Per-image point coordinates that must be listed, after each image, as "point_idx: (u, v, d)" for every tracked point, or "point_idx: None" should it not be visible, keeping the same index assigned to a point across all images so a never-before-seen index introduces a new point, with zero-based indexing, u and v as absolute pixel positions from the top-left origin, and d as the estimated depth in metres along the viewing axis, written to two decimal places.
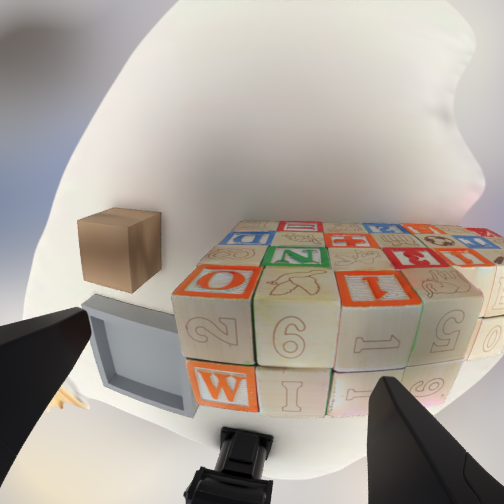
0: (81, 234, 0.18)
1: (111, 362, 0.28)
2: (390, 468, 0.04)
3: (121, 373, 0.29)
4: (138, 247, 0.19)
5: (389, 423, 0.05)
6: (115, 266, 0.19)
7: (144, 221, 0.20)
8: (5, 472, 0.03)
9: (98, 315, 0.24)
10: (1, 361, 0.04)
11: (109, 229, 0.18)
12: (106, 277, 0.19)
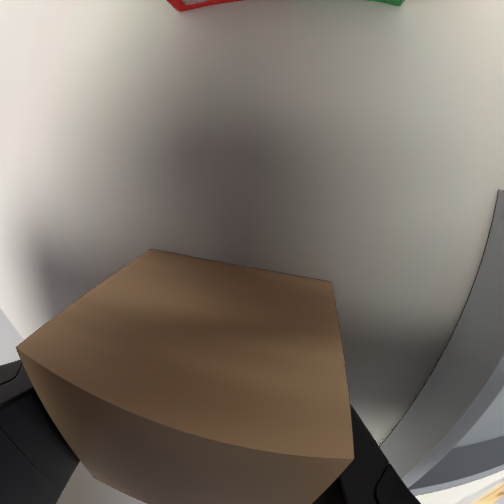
0: (123, 490, 0.04)
1: None
2: None
3: None
4: (144, 340, 0.04)
5: None
6: (193, 474, 0.03)
7: (97, 290, 0.05)
8: None
9: (413, 478, 0.06)
10: None
11: (58, 418, 0.03)
12: None
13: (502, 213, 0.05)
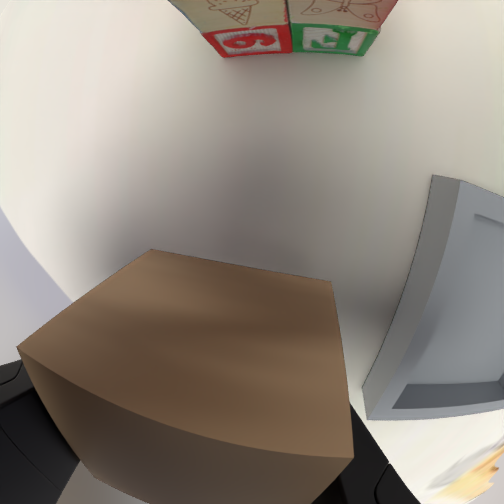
0: (123, 489, 0.04)
1: (481, 385, 0.12)
2: None
3: (500, 371, 0.12)
4: (144, 339, 0.04)
5: None
6: (192, 474, 0.03)
7: (97, 289, 0.05)
8: None
9: (395, 392, 0.11)
10: None
11: (59, 417, 0.04)
12: None
13: (434, 189, 0.10)
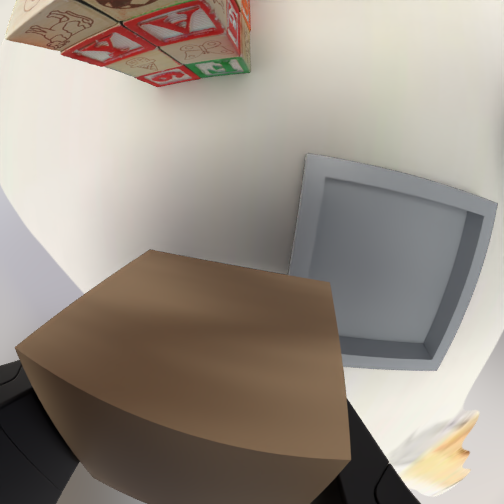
0: (122, 490, 0.04)
1: (399, 344, 0.17)
2: None
3: (422, 332, 0.17)
4: (142, 341, 0.04)
5: None
6: (190, 475, 0.03)
7: (95, 290, 0.05)
8: None
9: None
10: None
11: (57, 417, 0.03)
12: None
13: None
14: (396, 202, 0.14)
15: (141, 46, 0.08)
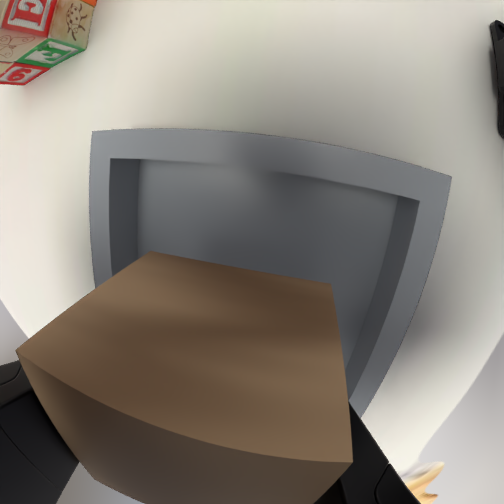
0: (123, 491, 0.04)
1: None
2: None
3: None
4: (143, 343, 0.04)
5: None
6: (192, 477, 0.03)
7: (96, 292, 0.05)
8: None
9: None
10: None
11: (58, 420, 0.03)
12: None
13: None
14: (250, 184, 0.10)
15: None
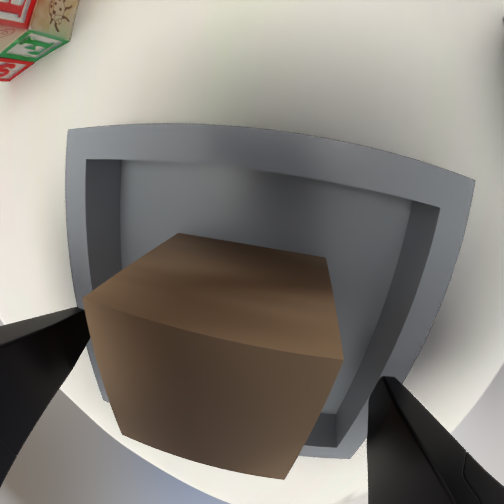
0: (150, 441, 0.06)
1: None
2: (390, 468, 0.04)
3: (331, 402, 0.11)
4: (188, 289, 0.06)
5: (389, 423, 0.05)
6: (224, 392, 0.05)
7: (142, 260, 0.07)
8: (5, 472, 0.03)
9: None
10: (1, 361, 0.04)
11: (107, 363, 0.05)
12: (271, 430, 0.05)
13: None
14: (244, 187, 0.09)
15: None
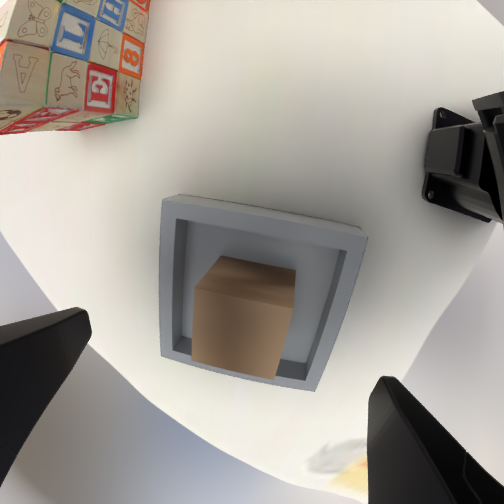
0: (208, 360, 0.15)
1: None
2: (390, 468, 0.04)
3: (302, 353, 0.20)
4: (235, 284, 0.15)
5: (389, 423, 0.05)
6: (251, 323, 0.14)
7: (210, 270, 0.16)
8: (5, 472, 0.03)
9: (167, 335, 0.19)
10: (1, 361, 0.04)
11: (199, 315, 0.14)
12: (268, 343, 0.14)
13: None
14: (256, 235, 0.18)
15: (39, 123, 0.11)
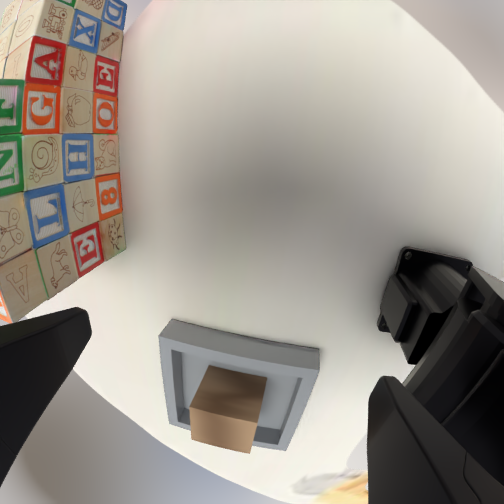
0: (203, 440, 0.19)
1: (257, 428, 0.24)
2: (390, 468, 0.04)
3: (277, 424, 0.24)
4: (218, 400, 0.19)
5: (389, 423, 0.05)
6: (229, 427, 0.18)
7: (200, 386, 0.20)
8: (5, 472, 0.03)
9: (173, 413, 0.23)
10: (1, 361, 0.04)
11: (194, 419, 0.18)
12: (242, 436, 0.18)
13: None
14: None
15: None
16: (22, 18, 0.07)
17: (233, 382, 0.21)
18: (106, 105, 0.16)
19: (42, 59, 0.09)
